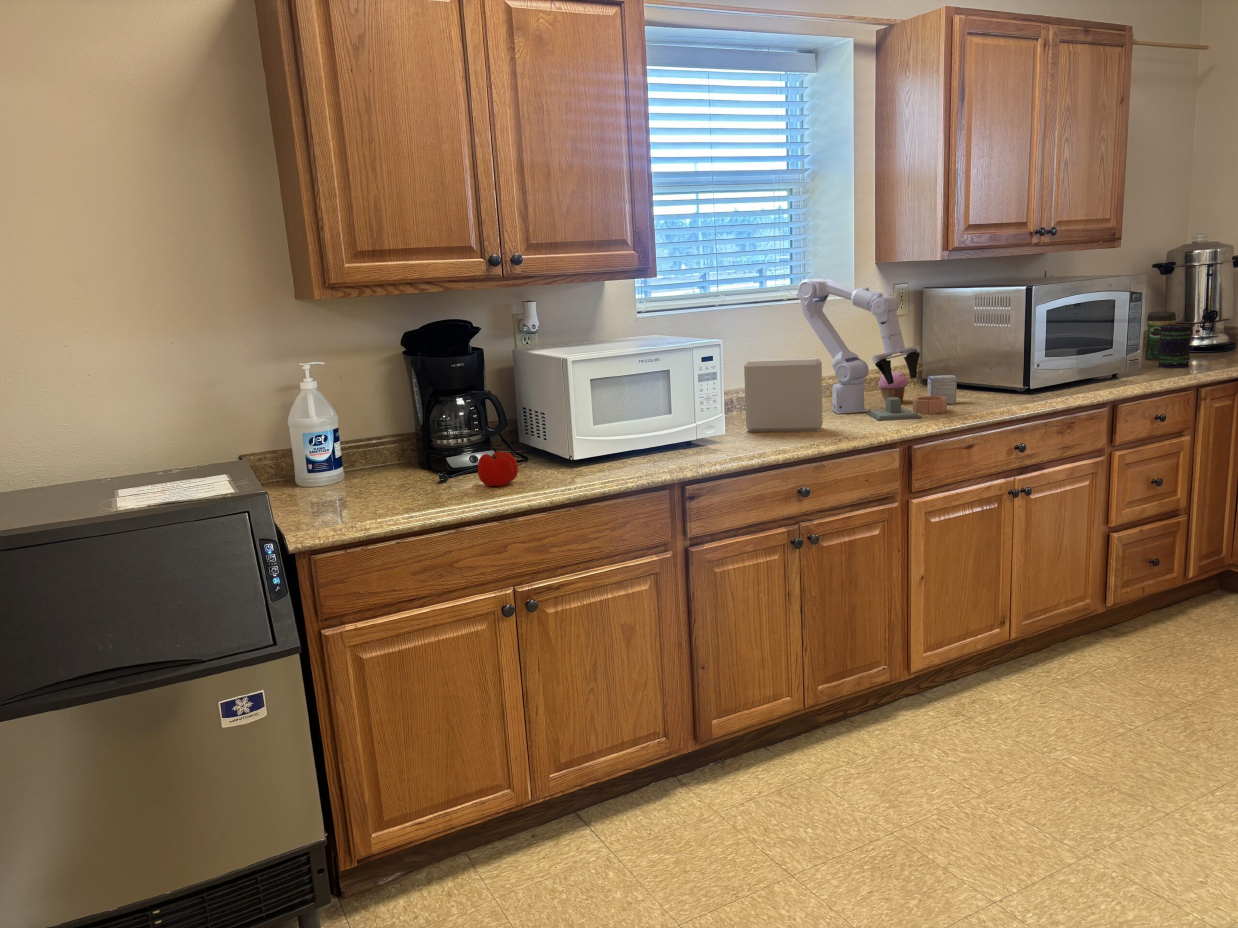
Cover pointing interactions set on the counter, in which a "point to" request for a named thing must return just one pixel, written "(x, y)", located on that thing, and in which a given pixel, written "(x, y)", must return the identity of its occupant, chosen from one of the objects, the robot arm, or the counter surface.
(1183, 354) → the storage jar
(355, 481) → the counter surface
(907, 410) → the lid
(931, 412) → the bowl
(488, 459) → the tomato
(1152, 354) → the coffee jar
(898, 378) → the cupcake
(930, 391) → the medicine box
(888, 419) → the mat
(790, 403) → the taupe bevelled box
